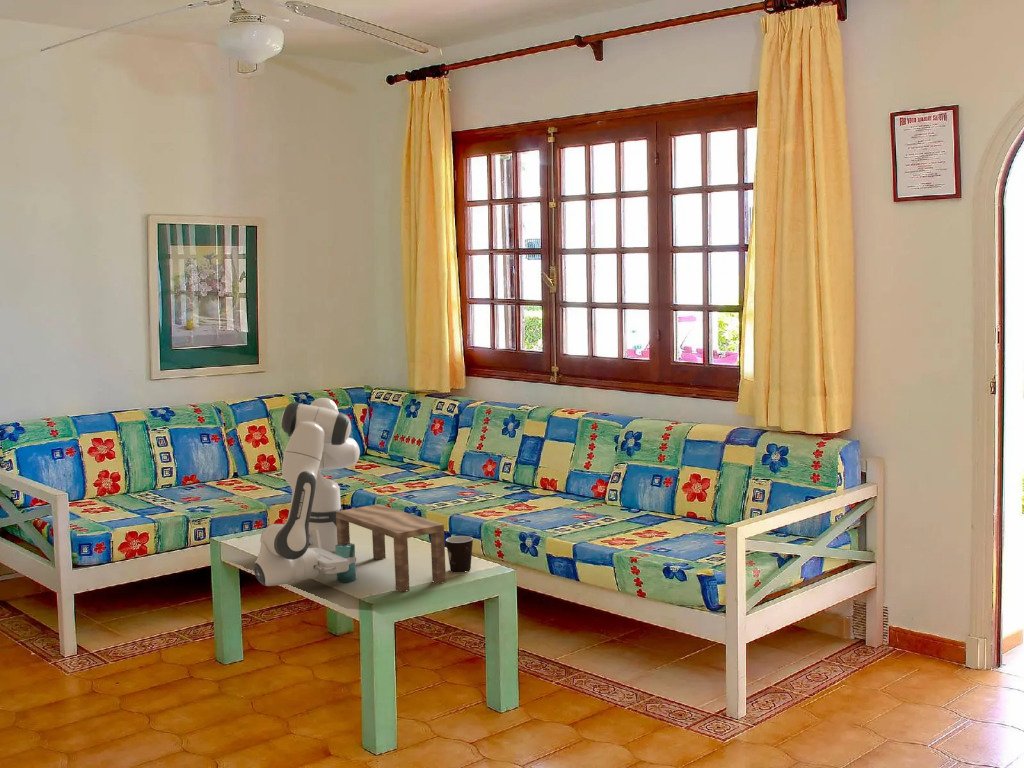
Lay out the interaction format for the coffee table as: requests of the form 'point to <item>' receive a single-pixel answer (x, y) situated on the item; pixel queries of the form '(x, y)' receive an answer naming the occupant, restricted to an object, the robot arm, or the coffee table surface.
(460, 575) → the coffee table surface
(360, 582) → the coffee table surface
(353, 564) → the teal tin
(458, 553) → the coffee mug
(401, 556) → the low shelf
